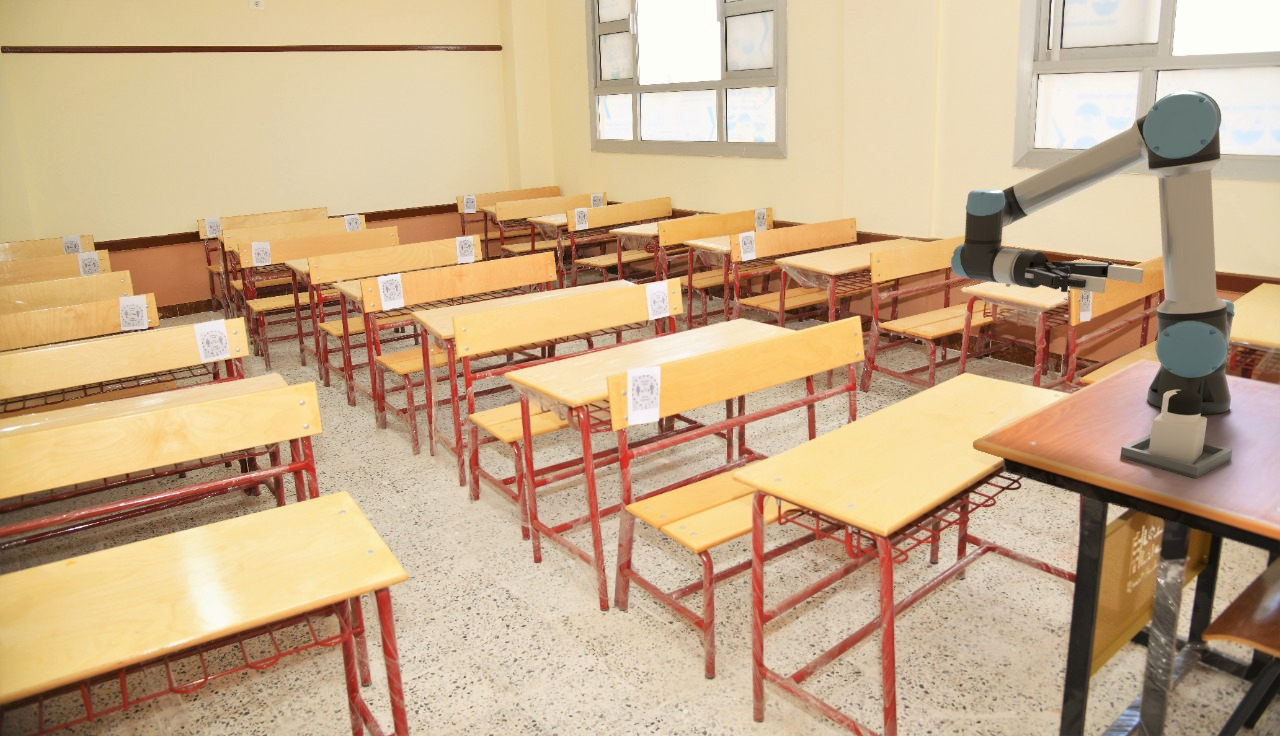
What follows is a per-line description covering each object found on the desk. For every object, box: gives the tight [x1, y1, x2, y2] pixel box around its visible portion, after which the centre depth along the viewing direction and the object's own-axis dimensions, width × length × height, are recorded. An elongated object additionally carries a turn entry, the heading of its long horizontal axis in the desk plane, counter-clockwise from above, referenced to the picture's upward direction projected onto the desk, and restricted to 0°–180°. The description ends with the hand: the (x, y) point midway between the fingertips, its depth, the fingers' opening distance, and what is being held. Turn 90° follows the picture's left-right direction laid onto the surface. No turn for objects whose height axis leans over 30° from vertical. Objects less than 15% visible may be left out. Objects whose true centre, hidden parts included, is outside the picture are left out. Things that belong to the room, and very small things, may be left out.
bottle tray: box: [1119, 433, 1233, 479], centre depth 161 cm, size 13×13×2 cm
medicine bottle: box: [1149, 390, 1208, 464], centre depth 160 cm, size 7×7×12 cm
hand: (1123, 280), depth 169 cm, fingers open, 13 cm apart
